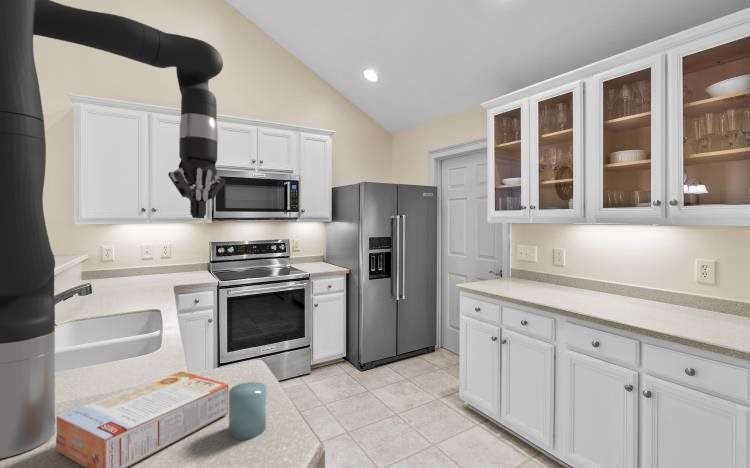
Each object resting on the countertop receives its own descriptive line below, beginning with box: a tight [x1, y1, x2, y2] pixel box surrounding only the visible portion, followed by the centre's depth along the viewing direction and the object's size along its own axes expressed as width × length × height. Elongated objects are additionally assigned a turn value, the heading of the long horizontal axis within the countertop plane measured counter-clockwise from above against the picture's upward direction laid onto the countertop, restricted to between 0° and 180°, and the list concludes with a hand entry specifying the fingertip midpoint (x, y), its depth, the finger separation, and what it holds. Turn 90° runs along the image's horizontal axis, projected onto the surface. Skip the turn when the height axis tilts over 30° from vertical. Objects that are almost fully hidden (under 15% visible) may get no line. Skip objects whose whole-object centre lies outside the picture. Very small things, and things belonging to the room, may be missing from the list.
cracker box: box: [55, 371, 229, 468], centre depth 62 cm, size 14×6×21 cm
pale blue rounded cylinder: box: [228, 381, 267, 441], centre depth 63 cm, size 6×6×7 cm
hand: (198, 218), depth 80 cm, fingers closed
